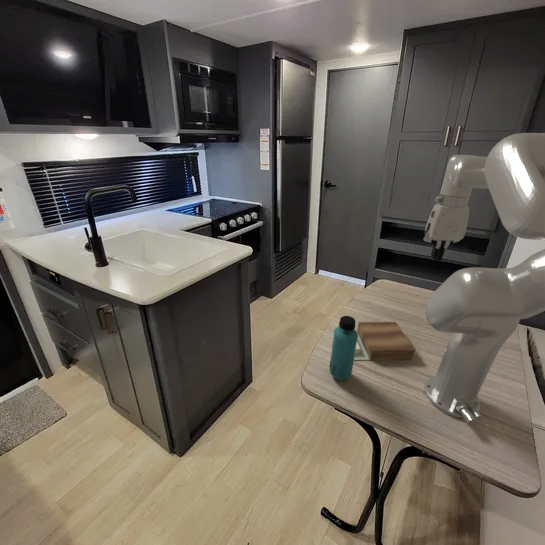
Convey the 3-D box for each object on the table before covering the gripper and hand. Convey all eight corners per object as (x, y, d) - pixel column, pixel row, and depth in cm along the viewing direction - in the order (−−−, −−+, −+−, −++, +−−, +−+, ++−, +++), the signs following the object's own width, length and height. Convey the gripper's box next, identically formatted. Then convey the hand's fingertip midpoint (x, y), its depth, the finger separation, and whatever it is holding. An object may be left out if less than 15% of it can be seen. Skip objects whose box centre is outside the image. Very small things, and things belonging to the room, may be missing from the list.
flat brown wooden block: (411, 359, 88) (414, 349, 87) (370, 360, 88) (372, 350, 86) (393, 331, 101) (395, 322, 99) (357, 331, 101) (358, 322, 99)
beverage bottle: (355, 376, 82) (366, 319, 73) (342, 388, 78) (351, 330, 69) (336, 363, 87) (344, 308, 78) (323, 375, 83) (330, 318, 74)
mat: (369, 360, 88) (369, 359, 88) (346, 360, 88) (347, 359, 88) (358, 337, 98) (359, 336, 98) (338, 337, 98) (338, 336, 98)
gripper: (434, 204, 79) (418, 264, 87) (487, 204, 79) (466, 263, 88) (420, 198, 86) (407, 254, 94) (469, 198, 86) (452, 254, 94)
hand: (435, 258), depth 91 cm, fingers closed
